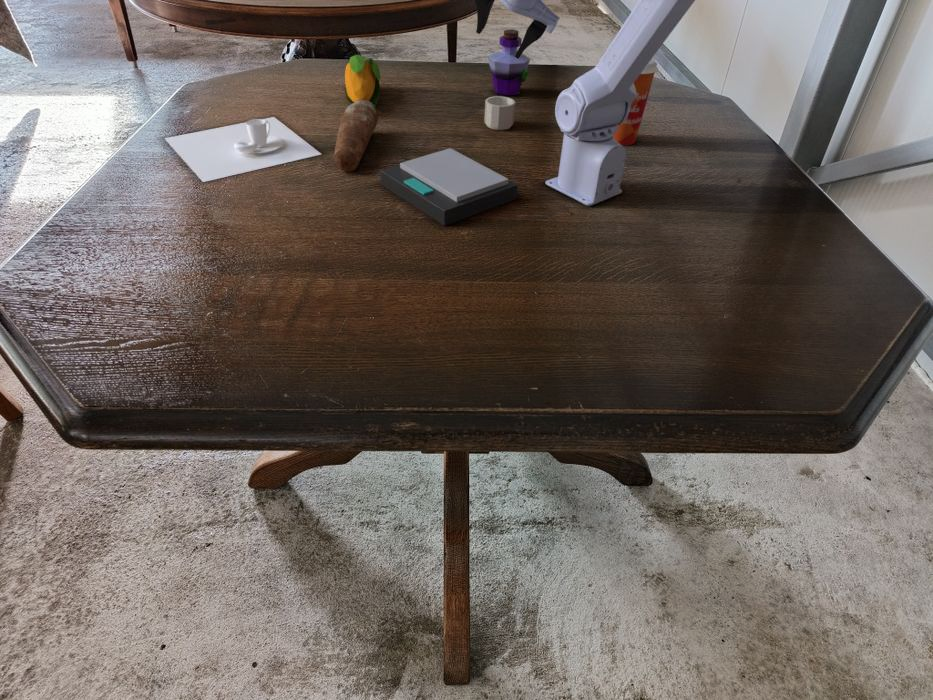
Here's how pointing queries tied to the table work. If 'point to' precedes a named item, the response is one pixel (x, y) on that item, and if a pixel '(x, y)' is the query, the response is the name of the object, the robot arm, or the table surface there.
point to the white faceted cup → (499, 112)
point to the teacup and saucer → (240, 148)
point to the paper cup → (636, 106)
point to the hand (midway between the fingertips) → (499, 42)
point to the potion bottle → (508, 65)
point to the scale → (448, 186)
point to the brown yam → (354, 134)
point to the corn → (362, 80)
